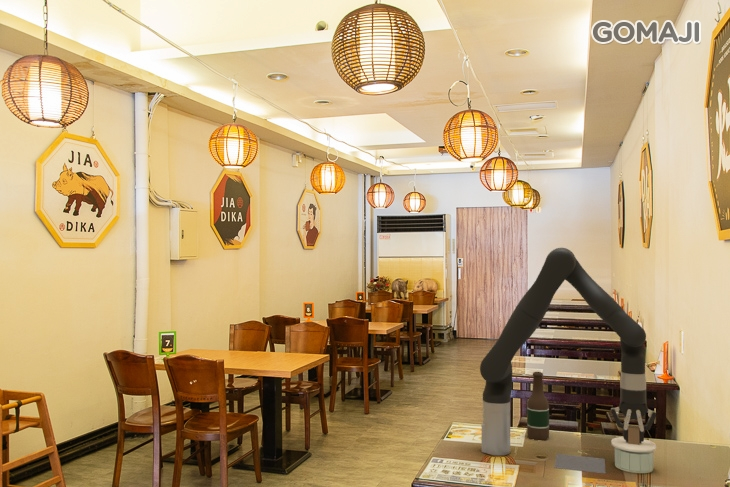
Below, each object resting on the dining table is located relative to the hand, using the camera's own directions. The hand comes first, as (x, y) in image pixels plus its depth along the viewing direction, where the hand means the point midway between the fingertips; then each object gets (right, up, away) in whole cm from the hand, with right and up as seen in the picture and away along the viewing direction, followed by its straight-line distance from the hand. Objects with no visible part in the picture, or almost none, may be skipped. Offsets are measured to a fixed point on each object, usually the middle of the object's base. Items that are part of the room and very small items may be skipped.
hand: (633, 441), depth 198 cm
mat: (-16, -8, +3) cm, 18 cm away
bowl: (0, -8, 0) cm, 8 cm away
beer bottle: (-21, -9, +33) cm, 40 cm away
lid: (0, -1, 0) cm, 1 cm away
